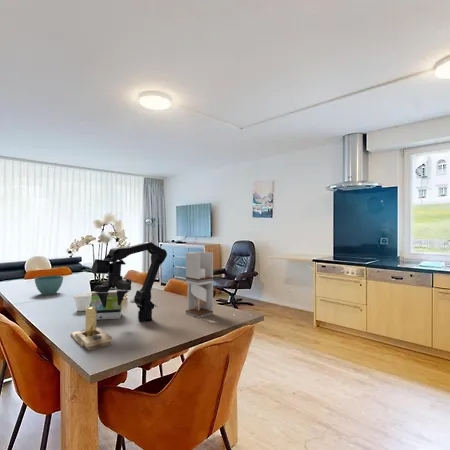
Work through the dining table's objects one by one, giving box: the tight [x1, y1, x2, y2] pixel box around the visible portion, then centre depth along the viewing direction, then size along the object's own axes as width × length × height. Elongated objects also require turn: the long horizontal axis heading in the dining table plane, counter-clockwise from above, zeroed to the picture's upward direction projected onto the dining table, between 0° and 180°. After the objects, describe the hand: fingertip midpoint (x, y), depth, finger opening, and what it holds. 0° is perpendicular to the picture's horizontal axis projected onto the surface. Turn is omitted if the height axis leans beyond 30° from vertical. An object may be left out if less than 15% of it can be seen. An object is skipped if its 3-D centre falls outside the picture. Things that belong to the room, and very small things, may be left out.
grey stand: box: [185, 251, 214, 318], centre depth 171 cm, size 11×11×35 cm
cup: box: [73, 292, 92, 312], centre depth 178 cm, size 10×10×9 cm
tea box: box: [90, 290, 123, 321], centre depth 165 cm, size 15×10×15 cm, turn 105°
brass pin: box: [84, 306, 97, 337], centre depth 130 cm, size 4×4×14 cm
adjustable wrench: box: [129, 297, 157, 307], centre depth 194 cm, size 25×6×2 cm, turn 47°
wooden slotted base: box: [70, 327, 113, 351], centre depth 130 cm, size 10×22×4 cm, turn 42°
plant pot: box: [34, 275, 64, 296], centre depth 222 cm, size 18×18×12 cm
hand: (112, 306), depth 145 cm, fingers open, 9 cm apart
